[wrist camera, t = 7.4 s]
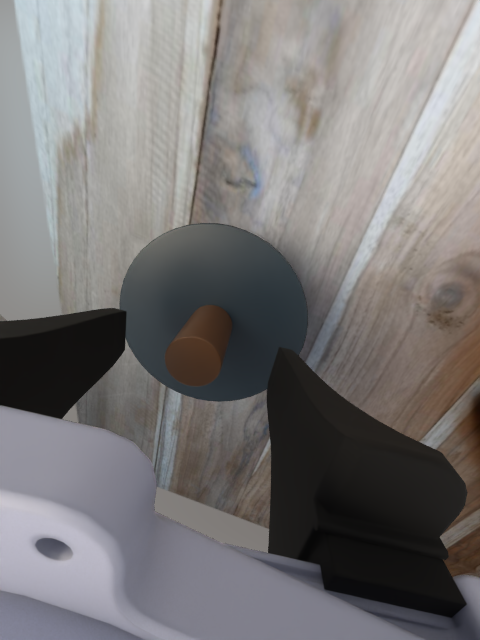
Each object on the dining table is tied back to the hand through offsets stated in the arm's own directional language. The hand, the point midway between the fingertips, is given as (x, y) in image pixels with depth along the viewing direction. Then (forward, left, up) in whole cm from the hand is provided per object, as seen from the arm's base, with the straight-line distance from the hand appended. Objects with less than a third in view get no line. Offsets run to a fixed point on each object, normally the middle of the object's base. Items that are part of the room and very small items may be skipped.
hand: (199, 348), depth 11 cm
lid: (0, 0, -3) cm, 3 cm away
